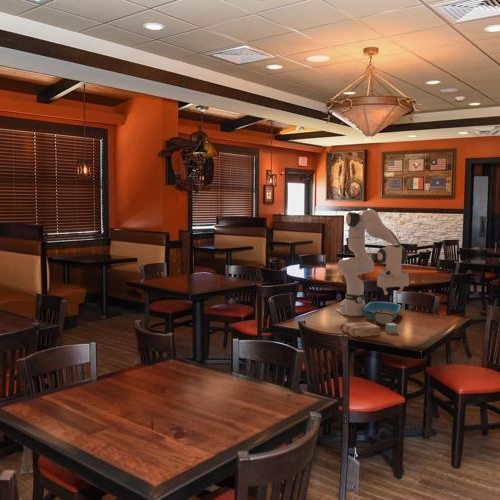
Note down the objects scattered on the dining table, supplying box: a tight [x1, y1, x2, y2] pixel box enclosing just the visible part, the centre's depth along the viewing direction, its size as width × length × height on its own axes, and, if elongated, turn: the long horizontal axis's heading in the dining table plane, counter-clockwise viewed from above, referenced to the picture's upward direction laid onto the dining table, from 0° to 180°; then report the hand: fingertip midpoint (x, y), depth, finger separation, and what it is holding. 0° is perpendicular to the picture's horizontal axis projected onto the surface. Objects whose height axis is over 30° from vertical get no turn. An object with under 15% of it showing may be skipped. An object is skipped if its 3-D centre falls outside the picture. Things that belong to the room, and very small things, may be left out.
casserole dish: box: [363, 301, 402, 322], centre depth 370 cm, size 37×22×7 cm, turn 159°
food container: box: [374, 310, 394, 329], centre depth 342 cm, size 12×6×10 cm, turn 59°
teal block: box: [384, 322, 399, 334], centre depth 329 cm, size 5×5×5 cm
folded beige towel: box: [341, 320, 381, 338], centre depth 328 cm, size 16×16×5 cm
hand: (392, 294), depth 327 cm, fingers open, 8 cm apart
